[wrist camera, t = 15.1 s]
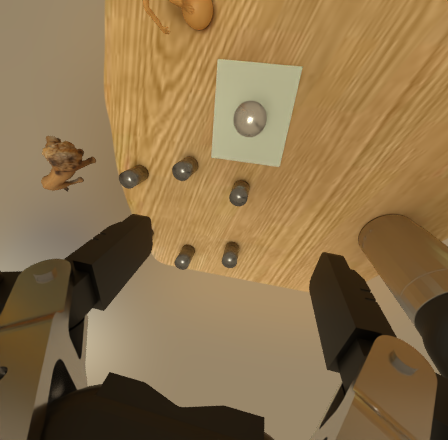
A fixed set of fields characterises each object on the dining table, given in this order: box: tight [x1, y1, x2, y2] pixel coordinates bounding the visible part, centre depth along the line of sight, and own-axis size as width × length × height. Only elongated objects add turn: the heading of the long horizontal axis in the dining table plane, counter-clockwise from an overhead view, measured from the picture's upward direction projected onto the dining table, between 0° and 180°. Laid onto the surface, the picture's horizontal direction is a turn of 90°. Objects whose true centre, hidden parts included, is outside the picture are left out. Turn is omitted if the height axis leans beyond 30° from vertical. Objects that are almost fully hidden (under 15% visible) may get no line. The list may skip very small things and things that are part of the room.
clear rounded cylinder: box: [233, 101, 267, 137], centre depth 30 cm, size 4×4×6 cm
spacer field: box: [119, 156, 249, 270], centre depth 41 cm, size 23×23×5 cm
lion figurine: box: [41, 136, 96, 191], centre depth 39 cm, size 15×5×9 cm, turn 140°
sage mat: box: [211, 59, 303, 167], centre depth 33 cm, size 12×14×1 cm
